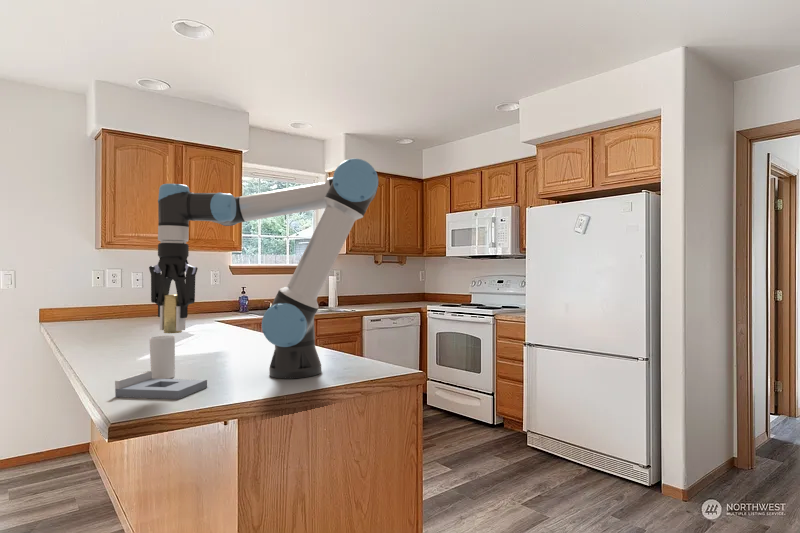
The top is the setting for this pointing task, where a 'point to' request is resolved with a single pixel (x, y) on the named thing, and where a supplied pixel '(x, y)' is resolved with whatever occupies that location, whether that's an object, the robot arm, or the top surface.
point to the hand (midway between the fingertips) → (172, 329)
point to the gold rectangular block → (170, 313)
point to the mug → (162, 357)
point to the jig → (156, 387)
